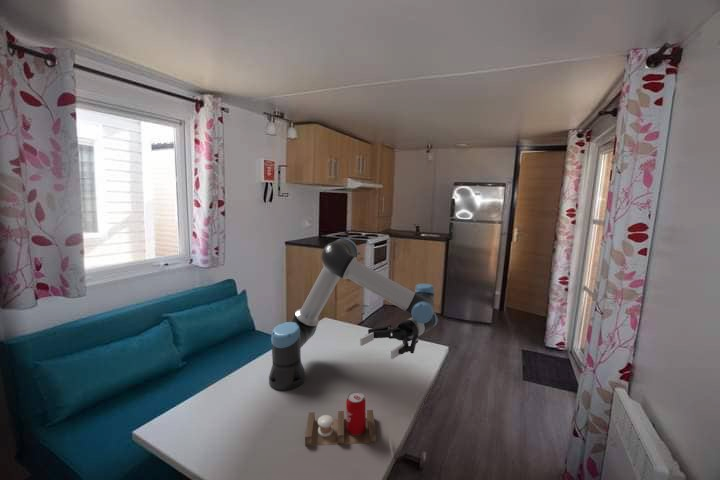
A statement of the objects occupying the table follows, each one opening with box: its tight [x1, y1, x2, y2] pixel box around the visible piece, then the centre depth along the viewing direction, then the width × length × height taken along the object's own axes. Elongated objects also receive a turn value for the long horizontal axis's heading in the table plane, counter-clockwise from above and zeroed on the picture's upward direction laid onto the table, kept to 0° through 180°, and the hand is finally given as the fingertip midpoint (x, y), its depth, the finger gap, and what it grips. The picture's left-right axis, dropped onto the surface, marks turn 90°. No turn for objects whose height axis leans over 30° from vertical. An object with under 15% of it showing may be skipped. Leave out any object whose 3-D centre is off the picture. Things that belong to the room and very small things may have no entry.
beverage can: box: [345, 391, 367, 435], centre depth 102 cm, size 6×6×12 cm
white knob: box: [317, 414, 334, 437], centre depth 101 cm, size 5×5×4 cm
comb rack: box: [304, 409, 377, 447], centre depth 102 cm, size 22×11×4 cm, turn 93°
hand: (375, 348), depth 106 cm, fingers open, 13 cm apart
